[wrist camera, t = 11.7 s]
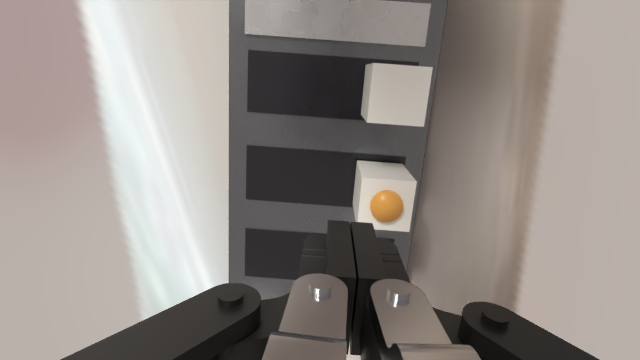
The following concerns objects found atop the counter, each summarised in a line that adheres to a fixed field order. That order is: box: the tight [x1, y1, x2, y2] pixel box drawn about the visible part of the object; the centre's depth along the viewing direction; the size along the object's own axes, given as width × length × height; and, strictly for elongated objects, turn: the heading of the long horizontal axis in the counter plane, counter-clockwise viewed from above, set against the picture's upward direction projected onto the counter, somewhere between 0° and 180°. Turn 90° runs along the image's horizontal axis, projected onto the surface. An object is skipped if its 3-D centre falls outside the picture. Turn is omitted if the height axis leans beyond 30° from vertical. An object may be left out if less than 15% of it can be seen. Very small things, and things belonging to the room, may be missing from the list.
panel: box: [229, 0, 448, 300], centre depth 26 cm, size 24×13×2 cm, turn 176°
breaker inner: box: [361, 63, 433, 127], centre depth 21 cm, size 3×3×4 cm
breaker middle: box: [353, 160, 417, 232], centre depth 22 cm, size 3×3×4 cm
